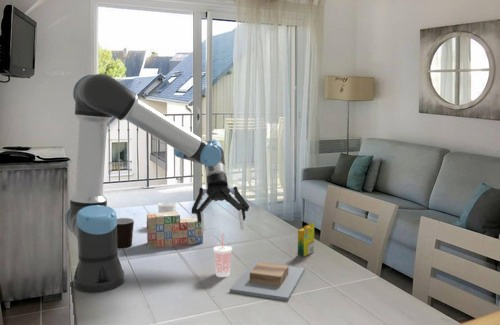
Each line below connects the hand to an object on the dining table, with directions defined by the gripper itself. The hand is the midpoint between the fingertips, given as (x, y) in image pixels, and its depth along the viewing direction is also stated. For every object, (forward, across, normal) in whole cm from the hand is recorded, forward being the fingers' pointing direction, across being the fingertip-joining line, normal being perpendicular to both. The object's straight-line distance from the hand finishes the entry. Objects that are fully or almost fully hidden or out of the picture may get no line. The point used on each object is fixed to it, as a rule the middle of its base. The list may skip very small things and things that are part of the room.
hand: (223, 229), depth 157 cm
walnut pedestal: (+20, -12, +2) cm, 24 cm away
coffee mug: (-11, +34, -30) cm, 47 cm away
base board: (+20, -12, +2) cm, 24 cm away
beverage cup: (+14, +1, -4) cm, 15 cm away
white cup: (-28, +17, -47) cm, 57 cm away
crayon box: (+5, -32, -14) cm, 36 cm away
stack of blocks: (-10, +15, -30) cm, 34 cm away
